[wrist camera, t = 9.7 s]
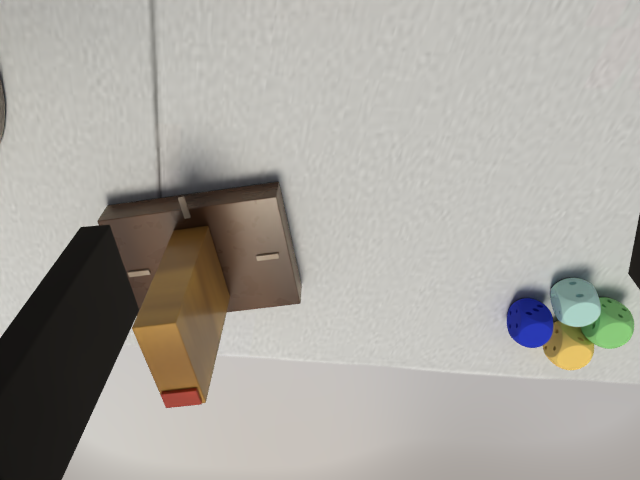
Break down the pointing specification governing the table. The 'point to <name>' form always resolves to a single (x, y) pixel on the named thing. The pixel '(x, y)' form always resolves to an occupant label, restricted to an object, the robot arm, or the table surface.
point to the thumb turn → (184, 317)
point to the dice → (570, 323)
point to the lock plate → (215, 241)
